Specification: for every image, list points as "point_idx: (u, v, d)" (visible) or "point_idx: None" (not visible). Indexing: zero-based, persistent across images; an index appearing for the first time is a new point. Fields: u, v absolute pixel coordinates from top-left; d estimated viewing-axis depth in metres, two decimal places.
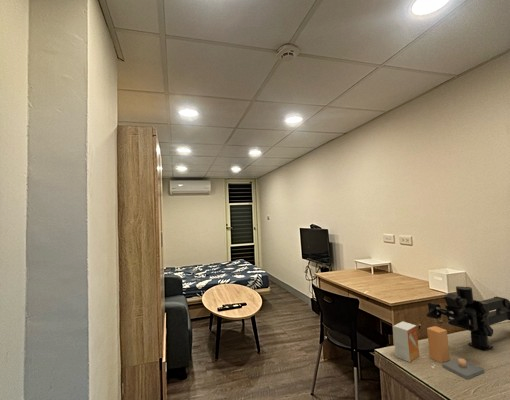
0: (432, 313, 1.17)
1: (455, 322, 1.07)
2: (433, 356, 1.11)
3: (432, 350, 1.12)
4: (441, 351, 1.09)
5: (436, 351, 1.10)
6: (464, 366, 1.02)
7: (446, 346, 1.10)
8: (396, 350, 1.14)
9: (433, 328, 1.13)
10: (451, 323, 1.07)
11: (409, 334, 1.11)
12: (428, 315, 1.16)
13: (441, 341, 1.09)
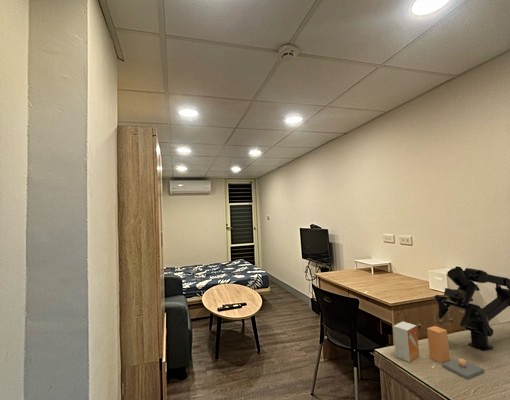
0: (442, 311, 1.20)
1: (465, 321, 1.10)
2: (433, 356, 1.11)
3: (432, 350, 1.12)
4: (441, 351, 1.09)
5: (436, 351, 1.10)
6: (464, 366, 1.02)
7: (446, 346, 1.10)
8: (396, 350, 1.14)
9: (433, 328, 1.13)
10: (463, 324, 1.10)
11: (409, 334, 1.11)
12: (440, 317, 1.19)
13: (441, 341, 1.09)
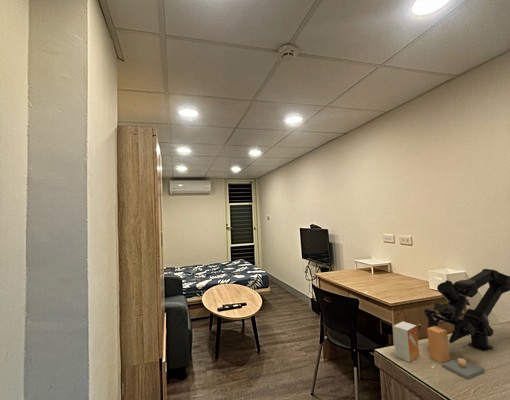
0: (432, 326, 1.18)
1: (455, 337, 1.08)
2: (433, 356, 1.11)
3: (432, 350, 1.12)
4: (441, 351, 1.09)
5: (436, 351, 1.10)
6: (464, 366, 1.02)
7: (446, 346, 1.10)
8: (396, 350, 1.14)
9: (433, 328, 1.13)
10: (452, 341, 1.08)
11: (409, 334, 1.11)
12: None
13: (441, 341, 1.09)
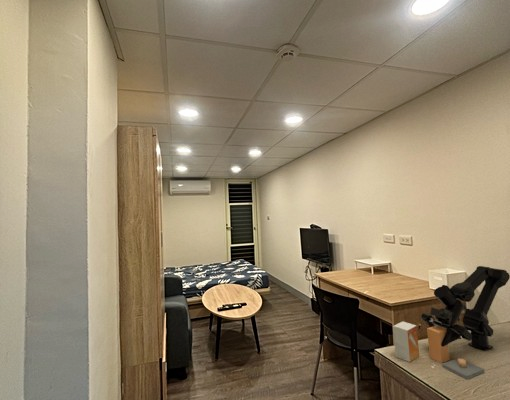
0: None
1: (447, 341, 1.09)
2: (433, 356, 1.11)
3: (432, 350, 1.12)
4: (441, 351, 1.09)
5: (436, 351, 1.10)
6: (464, 366, 1.02)
7: (446, 346, 1.10)
8: (396, 350, 1.14)
9: (433, 328, 1.13)
10: (444, 344, 1.09)
11: (409, 334, 1.11)
12: None
13: (441, 341, 1.09)
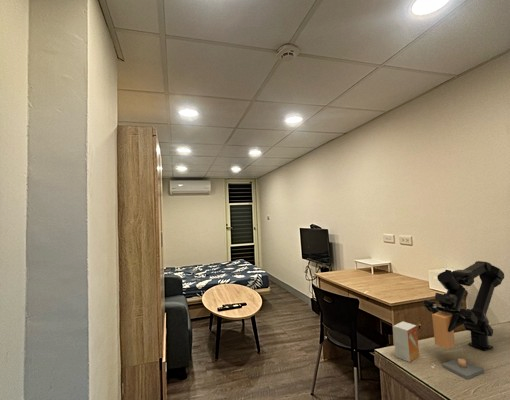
0: None
1: (453, 326, 1.06)
2: (439, 343, 1.08)
3: (438, 336, 1.09)
4: (447, 337, 1.06)
5: (442, 337, 1.07)
6: (464, 366, 1.02)
7: (452, 331, 1.08)
8: (396, 350, 1.14)
9: (438, 314, 1.11)
10: (450, 330, 1.06)
11: (409, 334, 1.11)
12: None
13: (447, 327, 1.07)
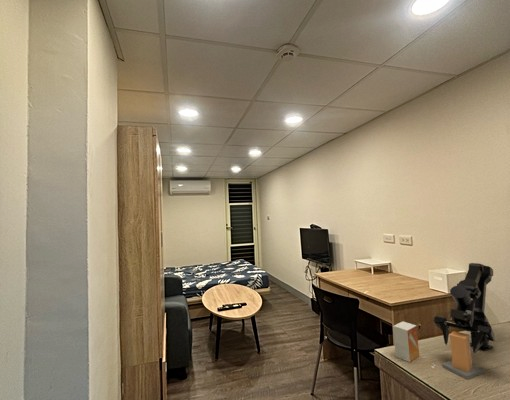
0: (446, 335, 1.08)
1: (477, 346, 1.00)
2: (457, 365, 1.02)
3: (456, 358, 1.02)
4: (467, 358, 1.00)
5: (462, 359, 1.01)
6: None
7: (469, 352, 1.02)
8: (396, 350, 1.14)
9: (455, 333, 1.05)
10: (475, 350, 0.99)
11: (409, 334, 1.11)
12: (446, 342, 1.06)
13: (467, 348, 1.01)
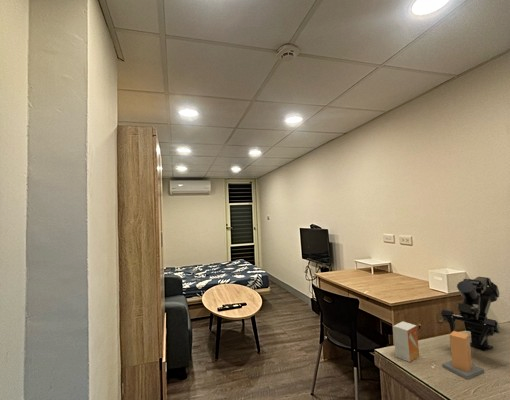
0: (453, 327, 1.14)
1: (484, 338, 1.05)
2: (457, 365, 1.02)
3: (456, 358, 1.02)
4: (467, 358, 1.00)
5: (462, 359, 1.01)
6: None
7: (469, 352, 1.02)
8: (396, 350, 1.14)
9: (455, 333, 1.05)
10: (482, 342, 1.05)
11: (409, 334, 1.11)
12: None
13: (467, 348, 1.01)
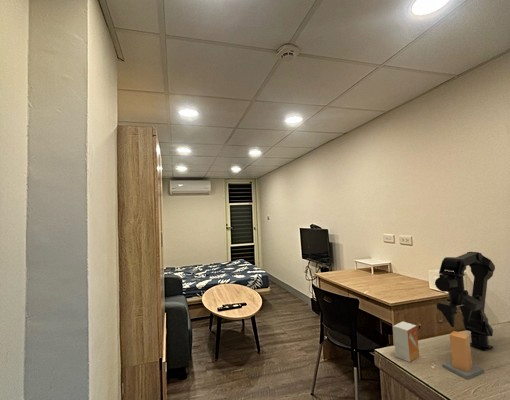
0: None
1: None
2: (457, 365, 1.02)
3: (456, 358, 1.02)
4: (467, 358, 1.00)
5: (462, 359, 1.01)
6: None
7: (469, 352, 1.02)
8: (396, 350, 1.14)
9: (455, 333, 1.05)
10: None
11: (409, 334, 1.11)
12: None
13: (467, 348, 1.01)
